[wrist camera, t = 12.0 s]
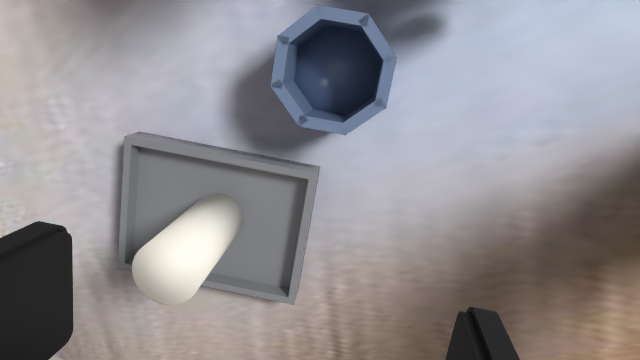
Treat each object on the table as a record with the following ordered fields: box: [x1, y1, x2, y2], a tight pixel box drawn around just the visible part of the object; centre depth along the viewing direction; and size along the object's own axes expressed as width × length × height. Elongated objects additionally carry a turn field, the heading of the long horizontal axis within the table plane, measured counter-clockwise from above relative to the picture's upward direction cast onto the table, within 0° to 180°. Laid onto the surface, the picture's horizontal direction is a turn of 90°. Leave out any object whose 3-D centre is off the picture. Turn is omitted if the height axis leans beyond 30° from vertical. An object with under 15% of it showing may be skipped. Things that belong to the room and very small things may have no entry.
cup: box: [270, 5, 397, 135], centre depth 32 cm, size 8×8×6 cm
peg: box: [132, 193, 243, 305], centre depth 32 cm, size 4×4×11 cm
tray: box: [118, 132, 320, 305], centre depth 38 cm, size 16×12×2 cm
